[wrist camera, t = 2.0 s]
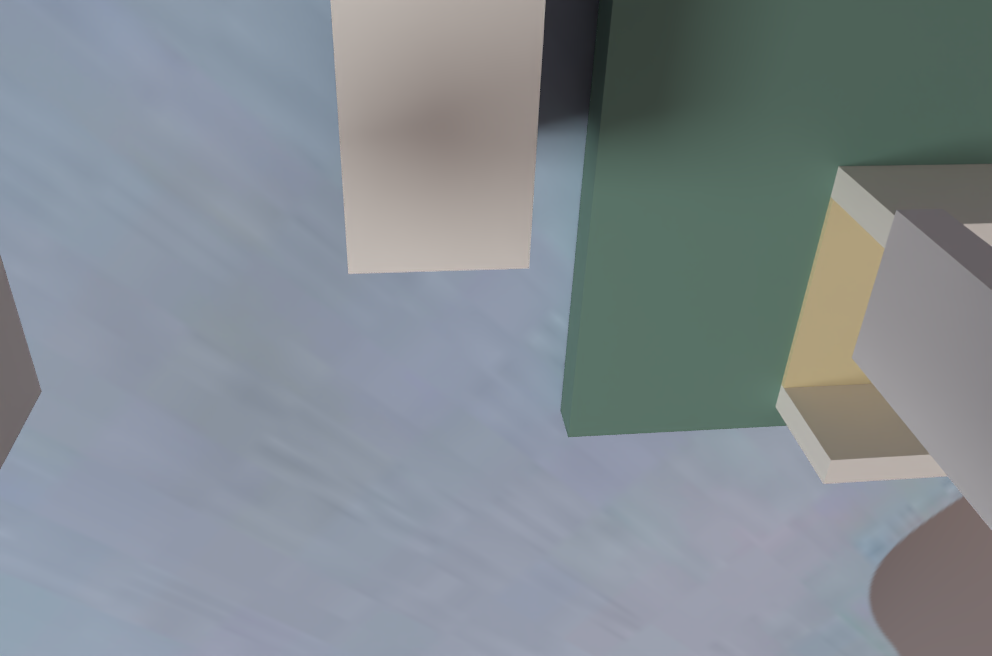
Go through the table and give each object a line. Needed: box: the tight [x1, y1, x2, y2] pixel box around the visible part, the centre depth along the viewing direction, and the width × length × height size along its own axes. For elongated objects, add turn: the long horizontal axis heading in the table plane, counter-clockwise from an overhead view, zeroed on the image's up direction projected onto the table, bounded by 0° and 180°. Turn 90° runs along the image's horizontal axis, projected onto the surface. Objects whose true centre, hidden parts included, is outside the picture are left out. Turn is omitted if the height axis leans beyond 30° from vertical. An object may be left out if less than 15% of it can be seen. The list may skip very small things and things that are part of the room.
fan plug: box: [331, 0, 546, 274], centre depth 21 cm, size 6×4×8 cm, turn 178°
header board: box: [561, 0, 992, 484], centre depth 26 cm, size 17×14×6 cm
